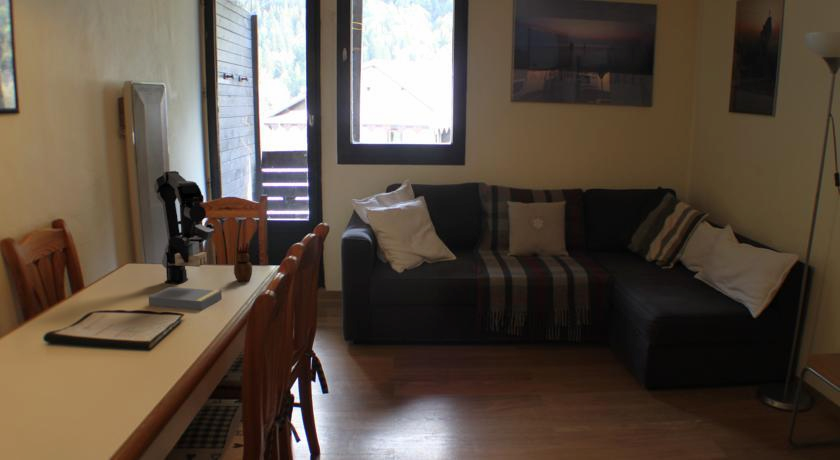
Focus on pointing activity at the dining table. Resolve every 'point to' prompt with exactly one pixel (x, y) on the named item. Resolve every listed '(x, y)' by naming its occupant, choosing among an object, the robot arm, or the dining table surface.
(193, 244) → the grey cube
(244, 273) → the brown vase with sticks
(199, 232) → the robot arm
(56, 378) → the dining table surface
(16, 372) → the dining table surface
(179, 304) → the dock
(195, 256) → the pallet
